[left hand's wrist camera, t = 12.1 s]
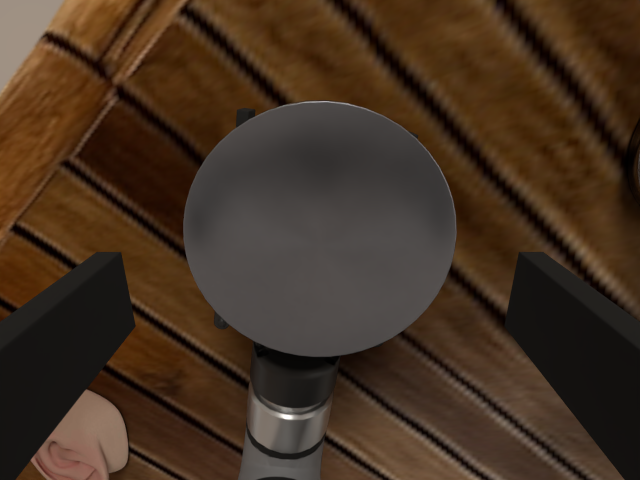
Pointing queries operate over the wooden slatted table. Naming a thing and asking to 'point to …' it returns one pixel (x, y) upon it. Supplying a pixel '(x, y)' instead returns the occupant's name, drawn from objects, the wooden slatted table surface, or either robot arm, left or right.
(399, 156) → the lid
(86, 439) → the anatomical model
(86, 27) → the wooden slatted table surface
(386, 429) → the wooden slatted table surface
